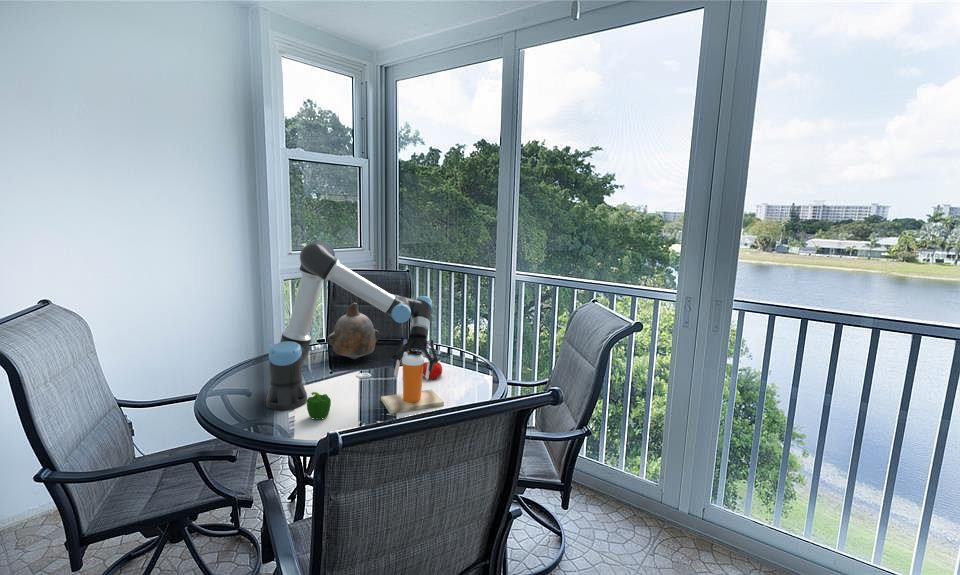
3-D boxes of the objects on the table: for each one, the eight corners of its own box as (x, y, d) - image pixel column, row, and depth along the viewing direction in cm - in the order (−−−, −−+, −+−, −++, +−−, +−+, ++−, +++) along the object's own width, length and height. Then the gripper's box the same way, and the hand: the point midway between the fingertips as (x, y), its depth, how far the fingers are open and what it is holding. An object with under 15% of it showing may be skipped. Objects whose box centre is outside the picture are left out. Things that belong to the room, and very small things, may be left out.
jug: (359, 349, 257) (358, 295, 252) (386, 357, 244) (386, 301, 239) (321, 360, 237) (319, 302, 232) (348, 369, 225) (347, 308, 220)
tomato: (423, 381, 214) (423, 367, 213) (419, 372, 225) (420, 359, 223) (444, 379, 217) (444, 366, 216) (440, 371, 227) (440, 358, 226)
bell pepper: (333, 412, 178) (333, 387, 177) (327, 422, 170) (327, 396, 169) (311, 412, 178) (310, 387, 176) (304, 421, 170) (303, 395, 168)
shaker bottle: (418, 404, 184) (420, 355, 181) (397, 401, 186) (398, 353, 183) (425, 396, 193) (427, 349, 190) (405, 393, 195) (406, 347, 192)
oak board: (390, 413, 179) (390, 410, 179) (381, 400, 191) (381, 396, 191) (443, 405, 188) (443, 401, 188) (431, 392, 201) (431, 389, 200)
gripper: (448, 335, 200) (442, 382, 188) (392, 332, 202) (383, 379, 189) (446, 326, 194) (440, 374, 181) (389, 323, 195) (379, 371, 183)
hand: (411, 377), depth 185 cm, fingers open, 12 cm apart
